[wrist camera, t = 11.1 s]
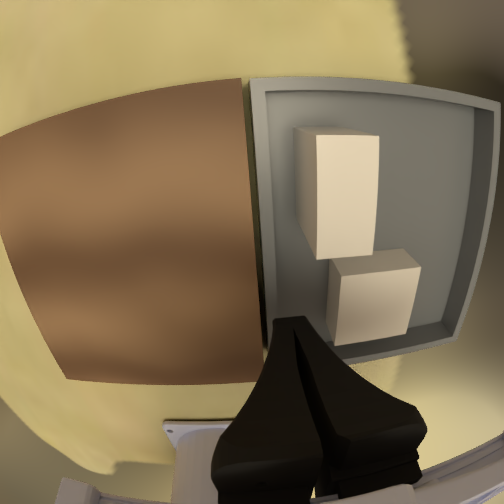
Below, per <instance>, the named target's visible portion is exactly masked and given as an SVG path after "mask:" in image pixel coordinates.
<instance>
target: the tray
mask: <svg viewBox="0 0 504 504" xmlns="http://www.w3.org/2000/svg"><path fill="white" fill-rule="evenodd" d="M248 88H249V101H250V113H251V126H252V139H253V152H254V165H255V178H256V191H257V205H258V219H259V233H260V247H261V261H262V276H263V291H264V306H265V321H266V336H267V351H269V347H270V343H271V338H272V331H273V325H272V321H273V320H274V319H275V318H283V317H293V316H302V315H304V316H306V317H307V319H308V320H309V322H310V323H311V325H312V326H313V327H314V329H315V330H316V331H317V333H318V334H319V335H320V336H321V338H322V339H323V340H324V341H325V342H326V344H327V345H328V346H329V347H330V348H331V349H332V350H333V351H334V352H335V354H336V355H337V356H338V357H339V358H340V359H341V360H342V361H344V362H345V363H346V364H347V365H350V364H356V363H362V362H367V361H372V360H378V359H383V358H388V357H392V356H397V355H402V354H406V353H411V352H415V351H419V350H423V349H427V348H431V347H435V346H438V345H443V344H446V343H450V342H454V341H456V340H457V338H458V335H459V332H460V329H461V326H462V324H463V321H464V319H465V316H466V313H467V310H468V307H469V304H470V301H471V298H472V294H473V291H474V288H475V284H476V280H477V277H478V274H479V270H480V266H481V262H482V258H483V254H484V250H485V245H486V241H487V236H488V231H489V226H490V221H491V215H492V209H493V203H494V196H495V189H496V181H497V171H498V159H499V146H500V103H499V102H496V101H492V100H488V99H484V98H480V97H476V96H472V95H468V94H463V93H459V92H454V91H449V90H444V89H439V88H432V87H427V86H421V85H414V84H407V83H400V82H391V81H382V80H371V79H358V78H340V77H269V78H251V79H249V82H248ZM293 127H344V128H349V129H353V130H357V131H361V132H366V133H370V134H374V135H377V136H379V172H378V194H377V209H376V223H375V234H374V244H373V251H380V250H390V249H401V248H403V249H404V250H405V251H406V252H407V253H408V254H409V255H410V256H411V257H412V258H413V259H414V260H415V261H416V262H417V263H418V264H419V265H420V266H421V271H420V276H419V281H418V286H417V290H416V295H415V299H414V303H413V308H412V312H411V316H410V320H409V323H408V327H407V331H406V334H402V335H397V336H392V337H386V338H381V339H375V340H369V341H364V342H357V343H351V344H345V345H338V346H334V343H333V340H332V338H331V335H330V332H329V329H328V326H327V324H326V310H327V295H328V277H329V259H319V260H316V258H315V256H314V254H313V251H312V249H311V247H310V245H309V243H308V241H307V239H306V237H305V235H304V233H303V231H302V229H301V227H300V225H299V223H298V221H297V219H296V185H295V155H294V132H293Z"/></svg>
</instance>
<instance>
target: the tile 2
mask: <svg viewBox="0 0 504 504" xmlns="http://www.w3.org/2000/svg"><path fill="white" fill-rule="evenodd" d="M420 271H421V266H420V265H419V264H418V263H417V262H416V261H415V260H414V259H413V258H412V257H411V256H410V255H409V254H408V253H407V252H406V251H405V250H404V249H403V248H401V249H390V250H380V251H373V254H372V255H365V256H354V257H342V258H331V259H329V277H328V295H327V310H326V324H327V326H328V329H329V332H330V335H331V338H332V340H333V343H334V346H338V345H345V344H351V343H357V342H364V341H369V340H375V339H381V338H386V337H392V336H397V335H402V334H406V331H407V327H408V323H409V320H410V316H411V312H412V308H413V303H414V299H415V295H416V290H417V286H418V281H419V276H420Z"/></svg>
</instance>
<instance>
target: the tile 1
mask: <svg viewBox="0 0 504 504" xmlns="http://www.w3.org/2000/svg"><path fill="white" fill-rule="evenodd" d="M293 132H294V155H295V185H296V219H297V221H298V223H299V225H300V227H301V229H302V231H303V233H304V235H305V237H306V239H307V241H308V243H309V245H310V247H311V249H312V251H313V254H314V256H315V258H316V260H319V259H331V258H342V257H354V256H365V255H372V254H373V244H374V234H375V223H376V209H377V194H378V172H379V136H377V135H374V134H370V133H366V132H361V131H357V130H353V129H349V128H344V127H293Z"/></svg>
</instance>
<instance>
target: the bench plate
mask: <svg viewBox="0 0 504 504" xmlns="http://www.w3.org/2000/svg"><path fill="white" fill-rule="evenodd" d="M0 234H1V237H2V240H3V243H4V246H5V249H6V252H7V255H8V258H9V261H10V263H11V266H12V269H13V271H14V274H15V276H16V279H17V281H18V284H19V286H20V289H21V291H22V293H23V296H24V298H25V300H26V303H27V305H28V307H29V309H30V311H31V314H32V316H33V318H34V320H35V322H36V324H37V326H38V328H39V330H40V332H41V334H42V336H43V338H44V340H45V342H46V343H47V345H48V347H49V349H50V351H51V353H52V354H53V356H54V358H55V360H56V362H57V363H58V365H59V367H60V368H61V370H62V372H63V373H64V375H65V377H66V378H67V379H71V380H81V381H92V382H105V383H121V384H146V385H201V384H227V383H244V382H257V381H258V378H259V376H260V374H261V371H262V369H263V366H264V360H263V347H262V334H261V321H260V308H259V295H258V282H257V269H256V257H255V244H254V231H253V219H252V206H251V193H250V181H249V169H248V156H247V144H246V132H245V119H244V107H243V95H242V83H241V78H236V79H225V80H216V81H207V82H199V83H192V84H185V85H178V86H172V87H166V88H161V89H155V90H150V91H145V92H140V93H136V94H131V95H127V96H122V97H118V98H114V99H110V100H106V101H102V102H98V103H95V104H91V105H88V106H84V107H81V108H77V109H74V110H71V111H68V112H65V113H61V114H58V115H55V116H52V117H50V118H47V119H44V120H41V121H38V122H36V123H33V124H30V125H28V126H25V127H23V128H20V129H18V130H15V131H13V132H10V133H8V134H6V135H3V136H1V137H0Z"/></svg>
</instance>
